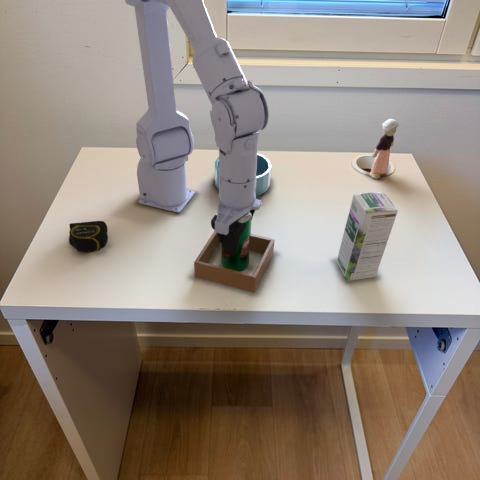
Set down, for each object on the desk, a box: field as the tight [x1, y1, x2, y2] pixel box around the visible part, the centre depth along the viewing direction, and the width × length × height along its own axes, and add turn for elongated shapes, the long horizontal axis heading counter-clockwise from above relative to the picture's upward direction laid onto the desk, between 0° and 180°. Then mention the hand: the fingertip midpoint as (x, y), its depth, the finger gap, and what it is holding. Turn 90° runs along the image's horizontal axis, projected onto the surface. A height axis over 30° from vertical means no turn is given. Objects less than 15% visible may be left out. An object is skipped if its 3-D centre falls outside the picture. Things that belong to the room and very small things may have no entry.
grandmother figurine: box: [368, 118, 400, 180], centre depth 104 cm, size 8×4×13 cm, turn 148°
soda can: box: [220, 211, 253, 272], centre depth 81 cm, size 5×5×12 cm
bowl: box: [214, 153, 272, 197], centre depth 103 cm, size 12×12×4 cm
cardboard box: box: [193, 230, 276, 294], centre depth 84 cm, size 11×11×4 cm
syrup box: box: [336, 191, 399, 282], centre depth 80 cm, size 6×6×14 cm
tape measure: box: [68, 220, 109, 254], centre depth 87 cm, size 7×7×4 cm
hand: (235, 244), depth 82 cm, fingers closed on soda can, 5 cm apart
